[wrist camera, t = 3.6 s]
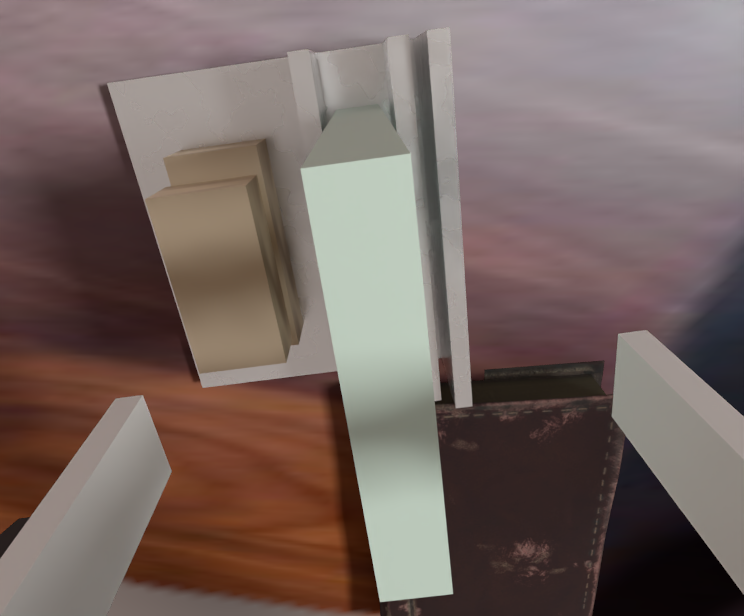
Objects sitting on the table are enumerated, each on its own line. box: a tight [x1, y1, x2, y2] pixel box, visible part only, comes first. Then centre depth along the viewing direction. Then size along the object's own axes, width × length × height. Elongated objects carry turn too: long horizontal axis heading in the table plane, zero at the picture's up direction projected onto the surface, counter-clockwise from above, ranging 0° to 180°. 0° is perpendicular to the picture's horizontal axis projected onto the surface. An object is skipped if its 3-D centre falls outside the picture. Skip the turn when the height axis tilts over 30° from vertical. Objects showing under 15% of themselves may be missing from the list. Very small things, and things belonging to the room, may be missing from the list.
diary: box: [380, 361, 625, 616], centre depth 41 cm, size 19×25×5 cm
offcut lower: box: [163, 139, 303, 345], centre depth 31 cm, size 12×5×3 cm, turn 7°
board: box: [300, 104, 453, 602], centre depth 23 cm, size 14×2×20 cm, turn 7°
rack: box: [107, 27, 472, 408], centre depth 30 cm, size 20×18×7 cm
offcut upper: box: [145, 175, 292, 374], centre depth 29 cm, size 10×5×3 cm, turn 7°
